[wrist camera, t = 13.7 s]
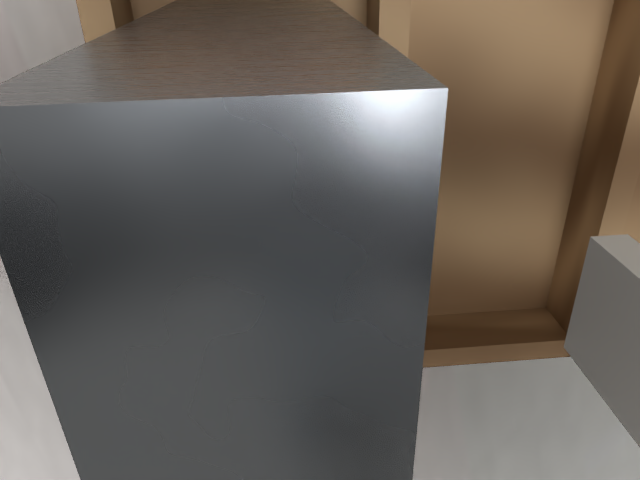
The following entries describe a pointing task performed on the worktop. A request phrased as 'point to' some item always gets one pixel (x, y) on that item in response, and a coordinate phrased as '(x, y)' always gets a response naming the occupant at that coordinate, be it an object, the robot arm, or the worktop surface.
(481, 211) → the bay rack
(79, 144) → the panel
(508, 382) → the worktop surface
